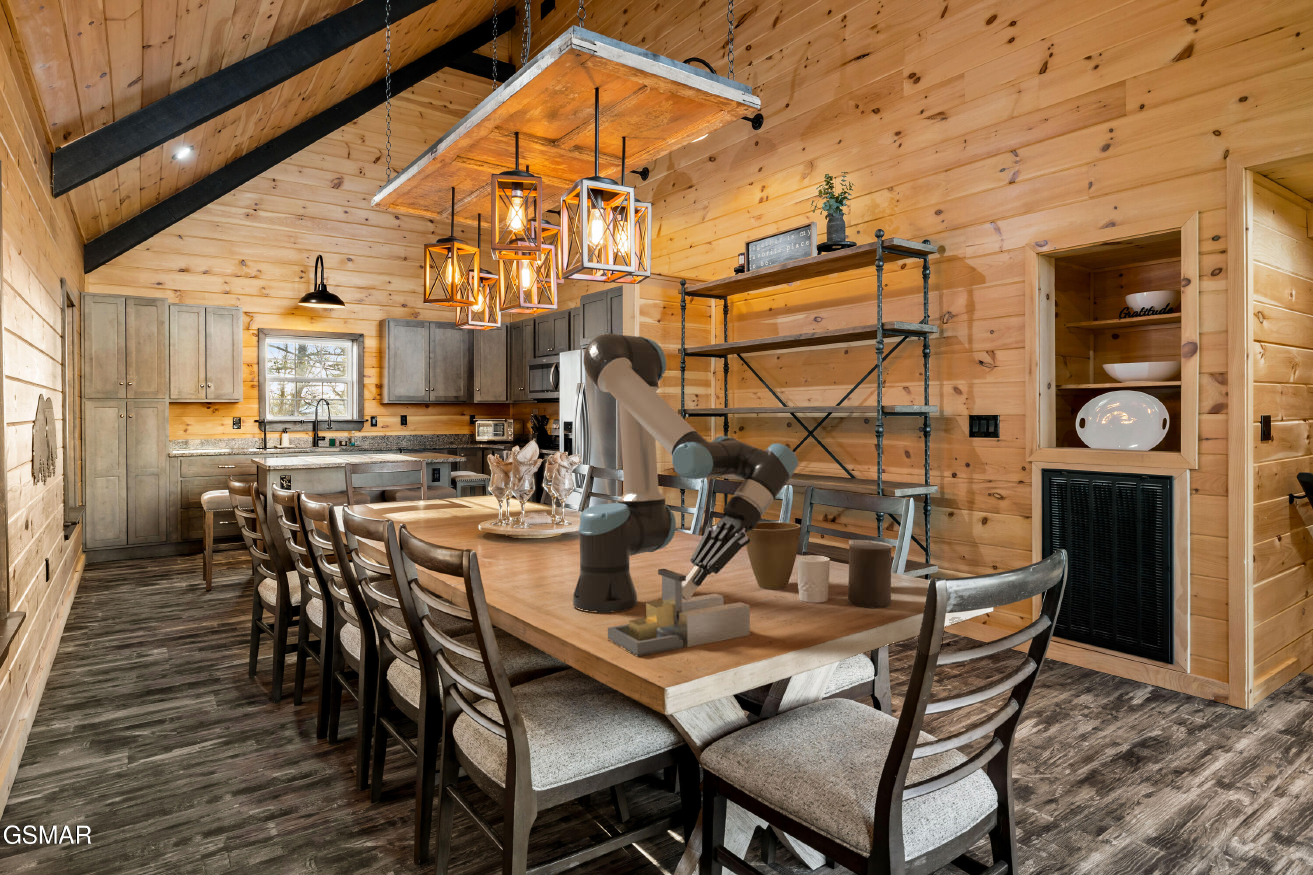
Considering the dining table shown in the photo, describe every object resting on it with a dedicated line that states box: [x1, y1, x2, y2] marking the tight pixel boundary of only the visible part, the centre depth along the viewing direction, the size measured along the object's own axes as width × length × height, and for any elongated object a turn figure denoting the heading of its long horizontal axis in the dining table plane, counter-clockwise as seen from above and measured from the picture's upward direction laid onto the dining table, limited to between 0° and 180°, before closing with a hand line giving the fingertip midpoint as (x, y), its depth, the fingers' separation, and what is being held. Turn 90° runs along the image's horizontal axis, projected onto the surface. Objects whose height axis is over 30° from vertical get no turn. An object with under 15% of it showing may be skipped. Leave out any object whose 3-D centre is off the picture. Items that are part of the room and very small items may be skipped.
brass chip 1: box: [628, 617, 657, 641], centre depth 141 cm, size 4×4×4 cm
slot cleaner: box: [657, 568, 687, 621], centre depth 144 cm, size 2×8×9 cm, turn 31°
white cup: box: [796, 554, 831, 604], centre depth 175 cm, size 8×8×10 cm
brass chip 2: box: [645, 600, 674, 628], centre depth 143 cm, size 4×4×4 cm
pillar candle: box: [847, 539, 892, 608], centre depth 172 cm, size 10×10×15 cm
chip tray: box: [607, 623, 684, 657], centre depth 141 cm, size 10×12×2 cm
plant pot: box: [745, 521, 801, 590], centre depth 190 cm, size 15×15×16 cm
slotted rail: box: [658, 593, 751, 648], centre depth 148 cm, size 15×12×6 cm
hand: (682, 595), depth 145 cm, fingers closed
